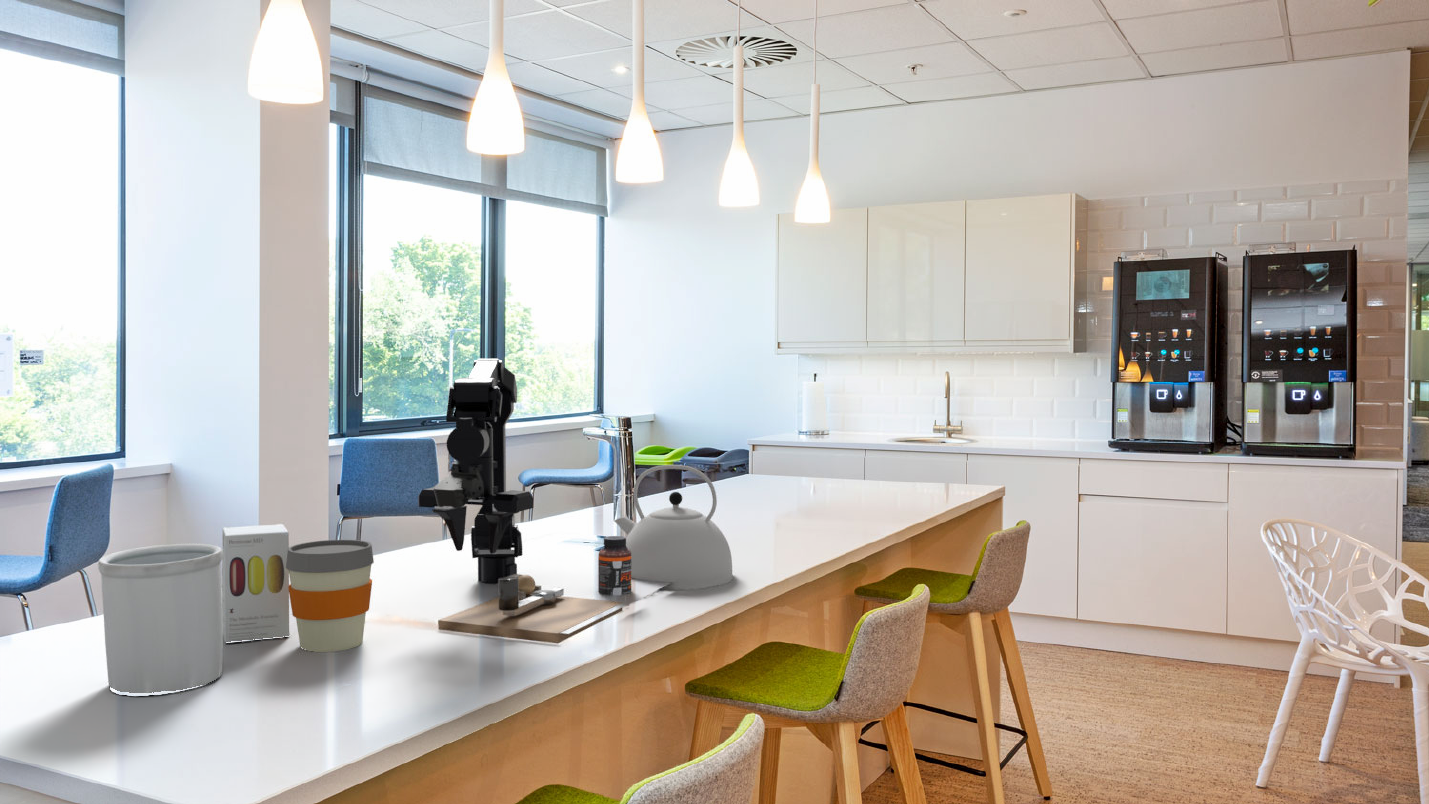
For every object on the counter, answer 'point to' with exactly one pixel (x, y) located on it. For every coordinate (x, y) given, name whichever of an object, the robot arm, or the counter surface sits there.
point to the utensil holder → (162, 617)
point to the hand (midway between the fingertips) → (476, 551)
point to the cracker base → (529, 618)
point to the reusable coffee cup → (330, 592)
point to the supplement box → (255, 582)
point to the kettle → (677, 543)
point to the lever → (513, 606)
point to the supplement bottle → (614, 567)
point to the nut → (526, 584)
